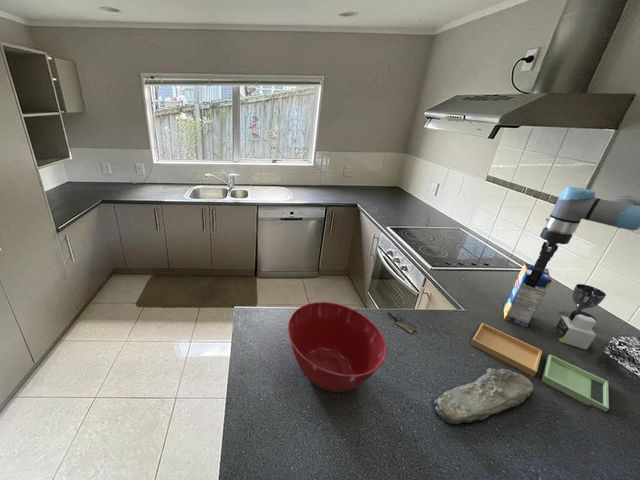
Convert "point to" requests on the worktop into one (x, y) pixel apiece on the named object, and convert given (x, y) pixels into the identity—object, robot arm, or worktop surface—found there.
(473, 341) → the oak tray
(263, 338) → the worktop surface
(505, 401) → the long grey stone
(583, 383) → the green tray
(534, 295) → the beverage box
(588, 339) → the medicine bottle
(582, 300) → the wine glass
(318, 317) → the mixing bowl
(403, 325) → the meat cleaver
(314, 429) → the worktop surface
